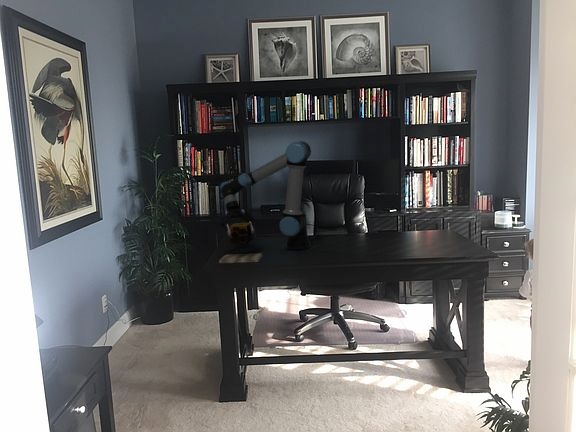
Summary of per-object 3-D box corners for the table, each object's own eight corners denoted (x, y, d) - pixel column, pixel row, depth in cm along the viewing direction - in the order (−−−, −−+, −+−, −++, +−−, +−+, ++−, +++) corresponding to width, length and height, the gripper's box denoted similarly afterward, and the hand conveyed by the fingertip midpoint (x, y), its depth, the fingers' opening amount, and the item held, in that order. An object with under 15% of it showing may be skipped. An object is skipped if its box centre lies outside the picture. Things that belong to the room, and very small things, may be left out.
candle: (248, 243, 273) (246, 225, 272) (230, 243, 275) (229, 226, 274) (252, 239, 283) (251, 222, 282) (235, 240, 285) (234, 223, 284)
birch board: (262, 255, 289) (262, 253, 289) (257, 261, 275) (257, 259, 275) (225, 257, 292) (225, 254, 292) (219, 263, 278) (219, 260, 278)
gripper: (250, 206, 298) (261, 234, 286) (210, 210, 289) (219, 240, 277) (253, 198, 292) (263, 226, 281) (211, 202, 283) (220, 232, 272)
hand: (241, 233), depth 279 cm, fingers closed on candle, 13 cm apart
